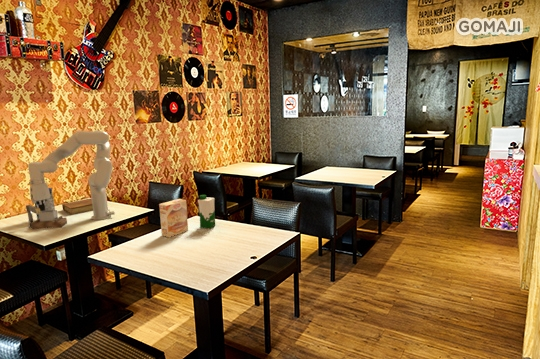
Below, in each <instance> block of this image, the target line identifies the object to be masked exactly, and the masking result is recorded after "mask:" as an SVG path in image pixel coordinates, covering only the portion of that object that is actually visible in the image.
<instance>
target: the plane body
mask: <svg viewBox="0 0 540 359" xmlns="http://www.w3.org/2000/svg"><path fill="white" fill-rule="evenodd" d="M66 225H68V219H67V217H63V215H61V216H58V218H57V219H56V220H55V221H48V222H40V219H37V218H36V220H33V222H32V223H31V227H32V228H31V230H42V229H59V228H60V229H61V228H63V227H65V226H66Z"/></svg>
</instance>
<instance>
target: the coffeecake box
mask: <svg viewBox="0 0 540 359" xmlns="http://www.w3.org/2000/svg"><path fill="white" fill-rule="evenodd" d="M158 206H159V217H160V229H161V230H160V231H161V236H162V235H163V236H162V237H165V236H166V237H165V238H168V237H169V238H172V237H174V235H175V236H177V234H178V235H180V234H183V233H186V232H188V231H189V224H188V222H189V221H188V208H187V200H186V199H182V198H176V199H173V200H170V201H166V202H162V203H159V204H158ZM185 231H186V232H185ZM182 232H183V233H182ZM171 236H172V237H171Z"/></svg>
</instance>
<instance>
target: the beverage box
mask: <svg viewBox="0 0 540 359" xmlns="http://www.w3.org/2000/svg"><path fill="white" fill-rule="evenodd" d="M48 188H49V192H50V198H49V199H48V200H47V201H46V202H45V210H56V208H55V207H56V206H55V200H54V193H53V188H52V187H48ZM34 207H37V208H39V206H38V204H36V203H34ZM40 212H41V211H40ZM35 214H36V213H35ZM37 219H39V214H36V220H37Z"/></svg>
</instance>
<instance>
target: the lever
mask: <svg viewBox="0 0 540 359" xmlns="http://www.w3.org/2000/svg"><path fill="white" fill-rule="evenodd" d="M25 210H26V212H27V211H30V212H32V214H39V213H41V212H40V208H37V207H35V205H32V204H27V205H25Z"/></svg>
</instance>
